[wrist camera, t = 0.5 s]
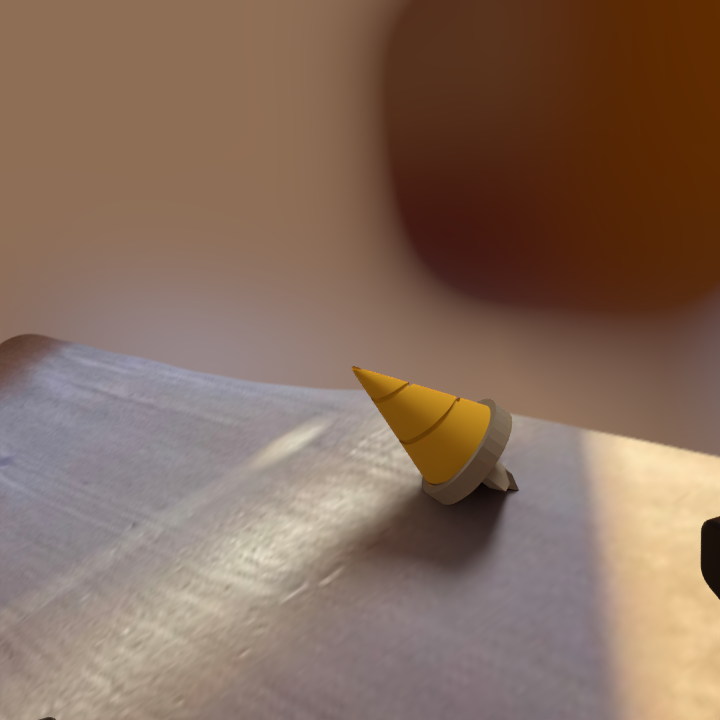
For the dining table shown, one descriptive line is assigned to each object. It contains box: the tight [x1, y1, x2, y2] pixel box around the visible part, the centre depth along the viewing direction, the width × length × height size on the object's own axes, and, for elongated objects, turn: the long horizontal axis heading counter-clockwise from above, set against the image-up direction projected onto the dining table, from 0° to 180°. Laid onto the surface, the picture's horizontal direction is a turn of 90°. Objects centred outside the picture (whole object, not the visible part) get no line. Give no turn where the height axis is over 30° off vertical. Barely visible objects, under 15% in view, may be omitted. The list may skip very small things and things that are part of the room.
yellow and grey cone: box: [352, 366, 518, 505], centre depth 28 cm, size 5×5×10 cm
